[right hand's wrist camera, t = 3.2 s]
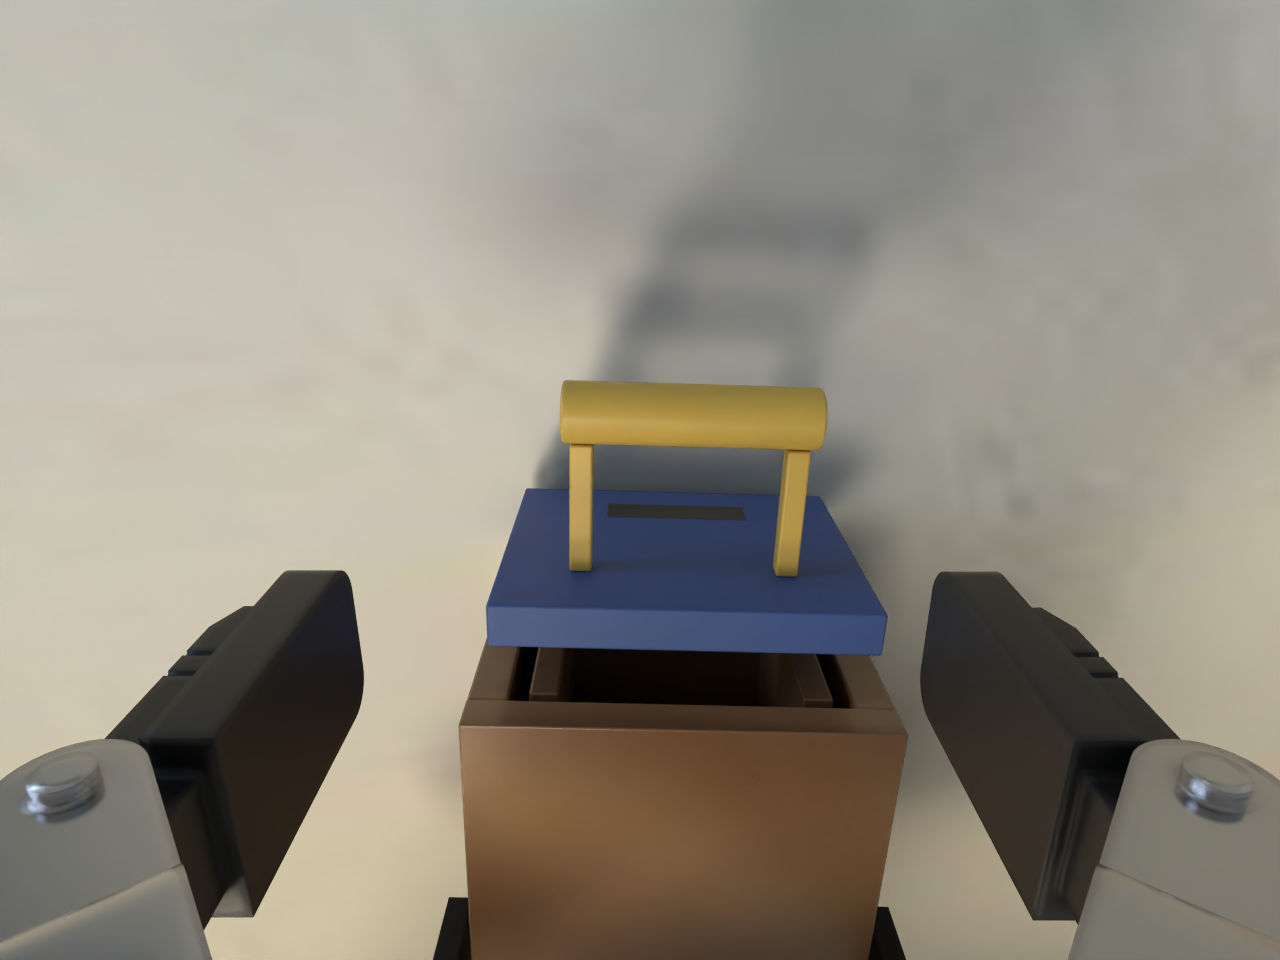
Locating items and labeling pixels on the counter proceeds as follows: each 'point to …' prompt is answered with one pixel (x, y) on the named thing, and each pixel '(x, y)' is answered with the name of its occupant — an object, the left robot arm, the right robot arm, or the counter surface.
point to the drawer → (683, 561)
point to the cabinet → (676, 821)
